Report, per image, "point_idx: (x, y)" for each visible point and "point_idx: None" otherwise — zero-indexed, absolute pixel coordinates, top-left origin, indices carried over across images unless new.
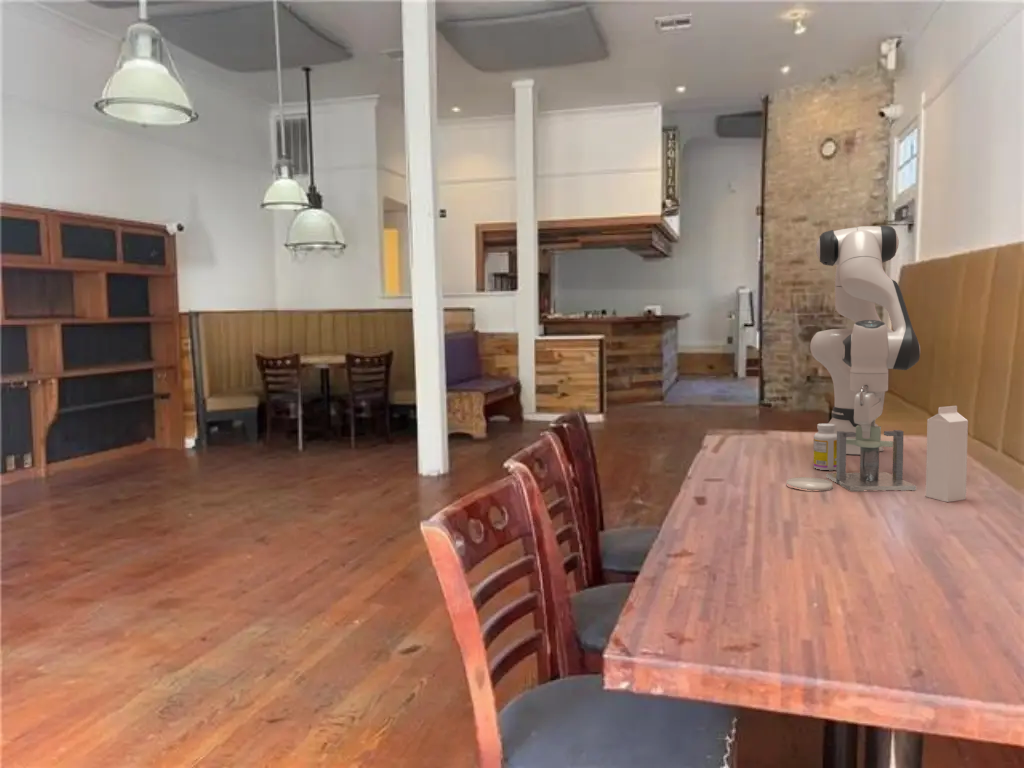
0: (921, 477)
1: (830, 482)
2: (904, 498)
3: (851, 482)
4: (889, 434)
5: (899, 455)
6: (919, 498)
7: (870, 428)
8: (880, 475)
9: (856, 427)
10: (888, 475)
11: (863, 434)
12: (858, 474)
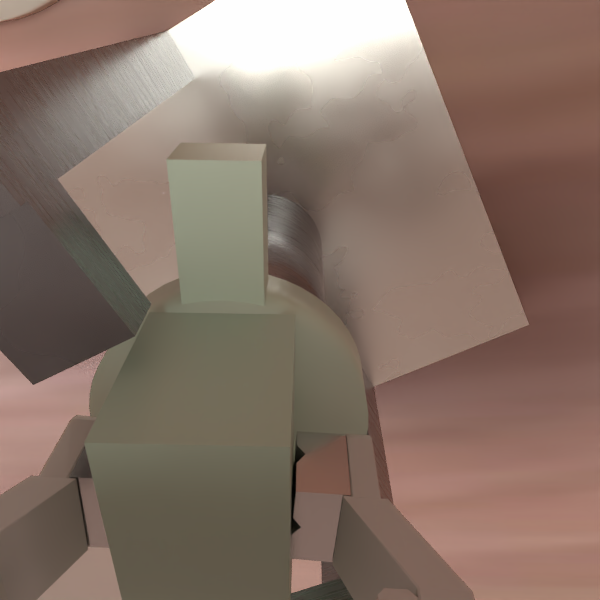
0: (537, 451)
1: (7, 2)
2: (3, 403)
3: (100, 153)
4: None
5: None
6: (46, 450)
7: (40, 595)
8: (409, 300)
9: (94, 439)
10: (425, 338)
11: (55, 455)
12: (399, 172)
